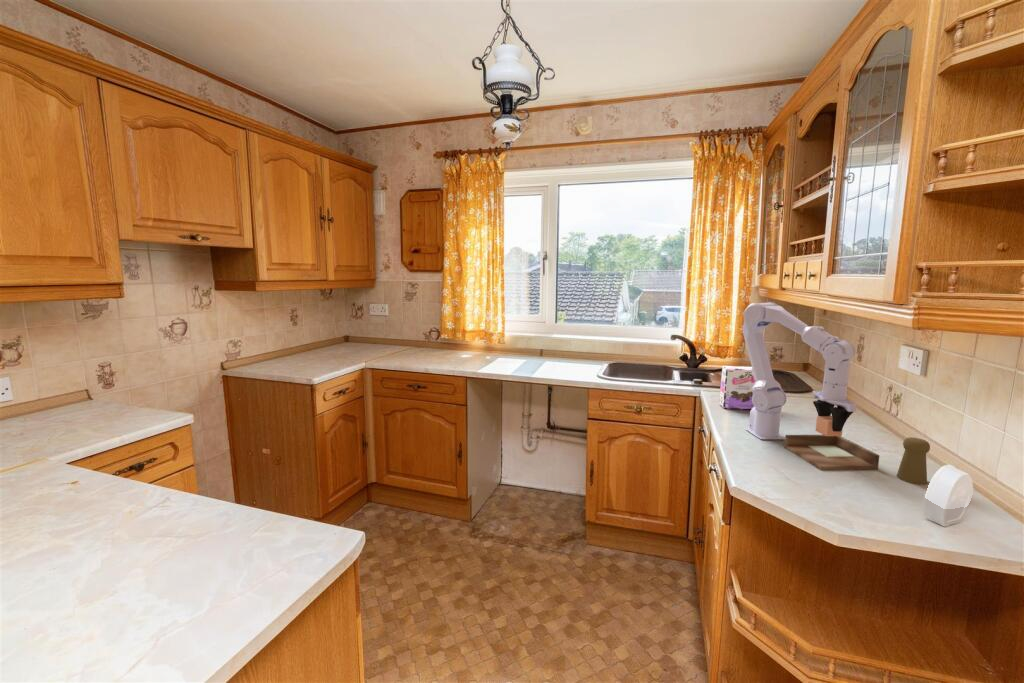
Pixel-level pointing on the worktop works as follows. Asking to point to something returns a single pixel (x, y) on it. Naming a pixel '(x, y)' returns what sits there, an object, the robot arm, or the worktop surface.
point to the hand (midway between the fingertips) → (830, 428)
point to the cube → (826, 426)
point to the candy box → (736, 387)
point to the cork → (914, 461)
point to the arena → (831, 452)
